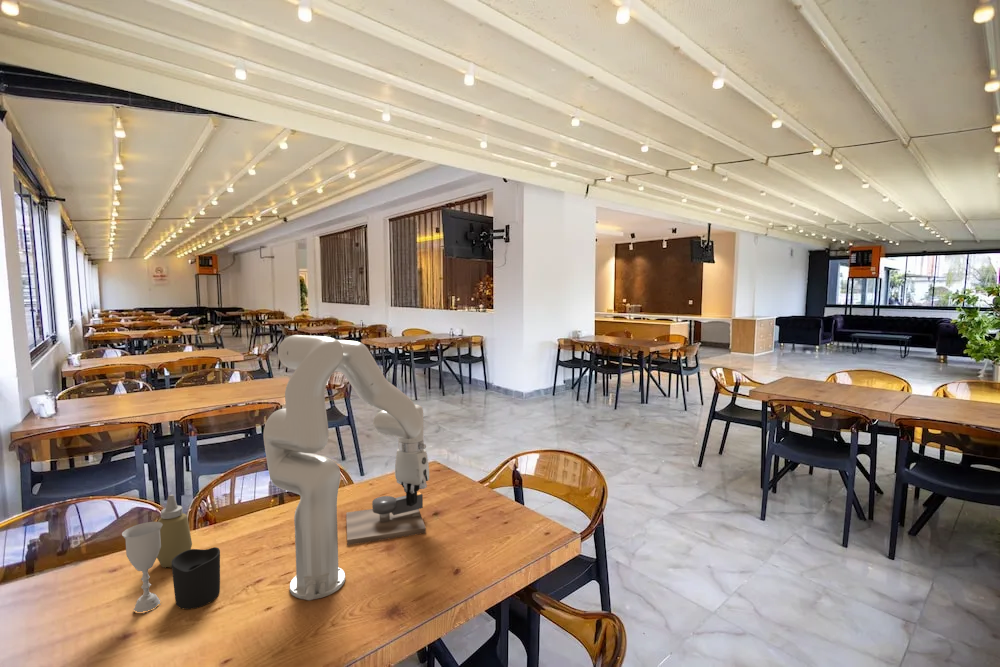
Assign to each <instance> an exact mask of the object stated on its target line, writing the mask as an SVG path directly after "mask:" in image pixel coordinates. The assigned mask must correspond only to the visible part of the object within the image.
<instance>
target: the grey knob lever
mask: <svg viewBox="0 0 1000 667" xmlns="http://www.w3.org/2000/svg"><path fill="white" fill-rule="evenodd" d="M423 502H424V500H423V493H422V492H420V491H417V503H416V504H414V505H413V506H407V505H406V495H402V496H397V497H394V496H389V495H385V496H379V497H376V498H374V499H373V500H372V502H371V503H372V508H371V509H373V512H374V513H376V514H388V513H392V514H393V515H397V514H401V513H405V512H409V511H413V510H417V509H419V510H420V509H423V507H424V506H423Z"/></svg>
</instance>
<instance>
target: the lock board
mask: <svg viewBox="0 0 1000 667" xmlns="http://www.w3.org/2000/svg"><path fill="white" fill-rule="evenodd" d="M426 530H427V527H426V524H425V522H424V519H423V517H422V514H421V512H420V509H417V510H413V511H409V512H405V513H401V514H397V515H393V514H392V513H388V514H376V513H374V512H373V508H370V509H361V510H355V511H347V512H346V540H347V541H346V542H347V543H346V545H347V546H349V545H357V544H362V543H363V544H364V543H368V542H375V541H381V540H389V539H388V538H390V539H395V537H397V538H402V536H404V537H409V535H410V536H414V535H415V534H417V535H421V534H420V533H423V534H426V533H427V531H426Z"/></svg>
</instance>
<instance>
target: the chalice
mask: <svg viewBox="0 0 1000 667" xmlns="http://www.w3.org/2000/svg"><path fill="white" fill-rule="evenodd" d="M162 525H163V524H162V523H161V522H157V521H149V522H143V523H140V524H139V523H138V524H136V525H135V524H134V525H133V526H130V527H128V528H126V529H125V530H124V531H122V533H121V535H122V537H123V538H124V539H125V540H124V541H125V551H126V552H125V553H126V558H127V559H128V561H129V563H130V564H131V565H132V566H133V568H135V570H137V571H138V572H141V573H142V576H141V578H140V580H141V582H143V583H142V585H141V587H140V588H141V589H142V590H143V594H142V595H141V596H139V598H137V600H136V603H135V604H134V608H133V610H135V611H137V612H143V611H148V610H151V609H153V608H155V607H156V606H157V605H158V604H160V601H161V600H160V598H159V597H158V596H157V594H156V593H154V592H150V587H151V586H152V584H151V583H150V581H149V580H150V577H151V576H150V575H149V572H148V571H149V570H150V569H151V568H152V567H153V566H154V564H155V562H156V561H157V560H156V559H157V556H158V554H159V551H160V548H161V538H160V529H161V527H162ZM160 605H161V604H160Z"/></svg>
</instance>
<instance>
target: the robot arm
mask: <svg viewBox="0 0 1000 667" xmlns="http://www.w3.org/2000/svg"><path fill="white" fill-rule="evenodd" d="M277 354H278V359H279V361H280V363H281V364H282V365H283V366H284V367H285V368H287V369H289V370H294V372H293V373H292V374H291V375H290V378H289V380H288V382H287V384H286V387H285V391H284V402H285V408H280V409H277V410H275V411H274V412H272V413H271V414H270V415H269V416H268V418H267V420H266V422H265V424H264V428H263V436H262V437H263V445H264V451H265V458H266V464H267V469H268V474H269V478H270V481H271V483H272V484H273V485H274V486H275V487H276V488H278V489H281V490H284V491H287V492H290V493H293V494H296V495H299V496H300V500H299V502H298V504H297V506H296V508H295V511H294V517H293V518H294V520H293V521H294V542H295V545H294V546H295V572H296V573H295V574H296V575H295V576H294V577H293V578H292V579H291V581H290V582H289V592H290V594H291V595H292V596H293V597H295V598H298V599H300V600H306V601H312V600H317V599H322V598H324V597H327V596H328V597H329V596H330V595H332V594H334V593H335V592H337V591H338V590H340V589H341V588H342V587H343V585H344V583H345V581H346V573H345V571H344V570H343V569H342V568H341V567H339V540H338V539H339V537H338V507H337V506H338V494H339V488H340V487H339V486H340V482H341V469H340V467H339V465H338V463H337V462H336V461H334V460H333V459H332V458H330V457H328V456H325V455H322V454H321V455H320V454H316V453H318V452H321V451H322V450H324V448H326V446H327V444H328V442H329V434H330V433H329V432H330V431H329V423H328V416H327V415H328V414H327V408H326V407H327V406H326V396H325V394H326V393H325V392H326V388H327V384H328V381H329V379H330V378H331V376H332V375H333V374H334V373H342V374H343V375H344V377H345V379H346V380H347V381H348V383H349V384H350V386H351V387H352V389H353V391H354V392H355V394H356V396H357V397H358V398H359V399H360V400H362V401H363V402H364V403H366V404H367V405H370V406H372V407H374V408H377V409H379V410H380V411H378V412H377V413H376V414H375V416H374V417H373V421H372V423H373V424H372V426H373V428H374V429H375V431H376V432H377V433H379V434H380V435H384V436H388V437H396V438H398V439H397V440H398V448H397V450H396V454H395V463H394V464H395V466H394V478H395V479H396V483H397V484H398V485H401V486H402V488H403V490H404V491H403V492H404V493H405V494H406V495H405V496H406V505H407V506H413V505H414V504H416V503H417V492H420V491H419V490H424V489H427V488H428V484H427V482H428V481H430V468H429V467H430V466H429V464H430V463H429V459H428V453H427V450H426V448H427V444H426V443H424V442H425V440H424V409H423V407H422V405H419V404H415V403H414V401H412V400H411V398H410V397H409V396H408V395H406V393H404V392H403V391H401V390H400V389H399V388H398V387H396V386H395V385H394V384H392V383H391V382H389V381H388V380H387V378H386V377H385V375H384V373H383V372H382V370H381V369H380V367H379V365H378V363H377V362H376V360H375V358H374V356H373V354H371V352H370V350H369V348H368V346H367V345H366V344H364V343H363V342H360V341H356V340H347V339H346V340H345V339H336V338H335V337H330V336H325V335H324V336H323V335H305V334H303V335H302V334H293V335H289V336H287V337H285V338H284V339H283V340H282V341H281V342H280V344H279V346H278V349H277Z"/></svg>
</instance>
